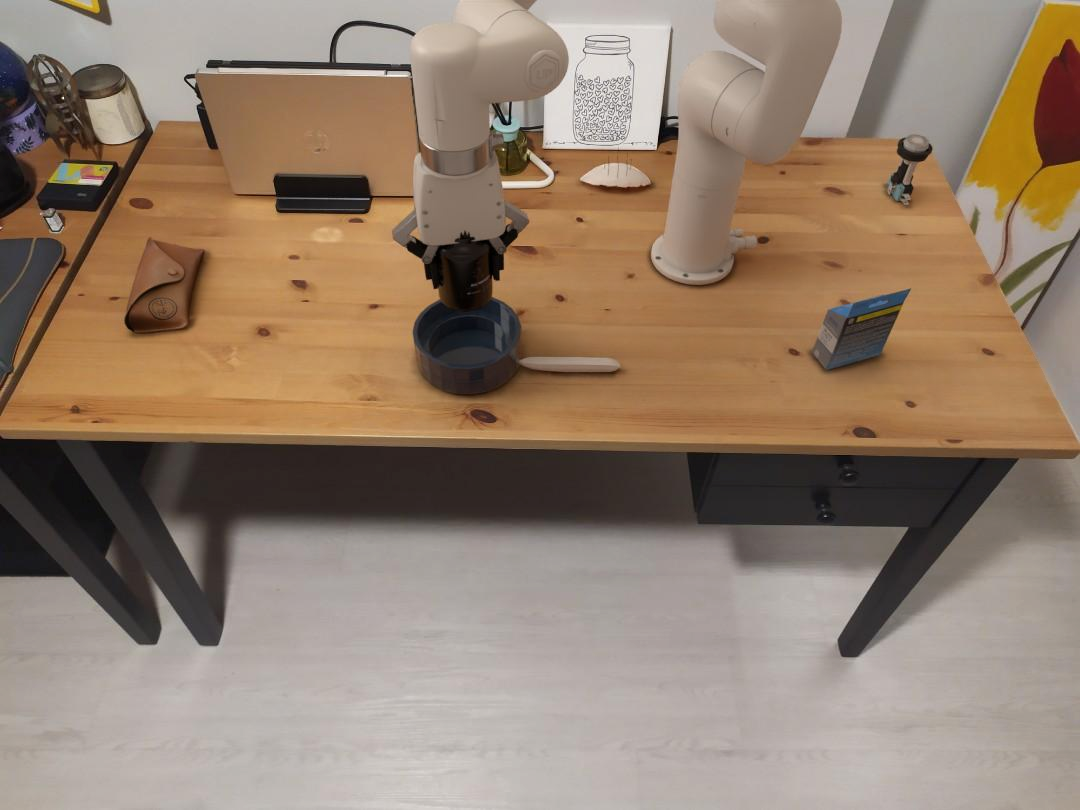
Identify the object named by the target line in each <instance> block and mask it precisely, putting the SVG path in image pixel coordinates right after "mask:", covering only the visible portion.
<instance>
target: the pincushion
mask: <svg viewBox="0 0 1080 810" xmlns="http://www.w3.org/2000/svg"><path fill="white" fill-rule="evenodd" d="M617 147H618V146H617ZM619 149H620V148H619V147H618V148H617V150H618V151H617V152H619ZM628 155H629V154H628V152H627V153H626V157H628ZM616 158H617V159H616V162H610V157H608V160H607V161H608V162H607V163H604V164H601V165H597V166H595V167H594V168H591V169H590V170H589V171H588V172H586V173H584V174H583V175H581V177H579V181H581V182H585V183H586V184H589V185H592V186H600V185H602V186H606V188H608V187H615V189H618V187H620V188H624V189H626V188H627V187H630V188H634V187H635V188H638V187H641V186H642V187H645V186H647V185H651V181H650V179H649V177H648V176H647V174H646V173H644V172H643V171H642V170H640V169H638V168H637V167H635V166H633V165H632V164H629V163H628V161H626V163H621V162H618V160H619V156H617V157H616ZM632 159H633V158H631V159H630V161H632Z"/></svg>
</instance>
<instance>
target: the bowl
mask: <svg viewBox="0 0 1080 810" xmlns="http://www.w3.org/2000/svg"><path fill="white" fill-rule="evenodd" d="M412 339H413V346H414V352H415V358H416V365H417V369H418V370H419V372H420V374H421V376H422V377H423V379H425V380H426V381H427V382H429V383H430V384H431V385H432V386H434V387H436V388H437V389H440V390H441V391H444V392H449V393H453V394H459V395H474V394H480V393H485V392H486V393H487V392H488V391H491V390H493V389H497V388H499V387H501V386H502V385H503V384H505V383H506V382H508V381H510V379H511V378H513V376H514V375H515V374H516V373H517V371H518V369H519V367H520V365H521V364H519V361H520V360H522V351H523V349H522V347H523V346H522V324H521V321H520V318H519V316H518V315H517V312H516V311H515V310H514V309H513V308H512V307H511V306H510V305H508V304H507V303H506V302H504V301H502V300H500V299H498V298H496V297H495V296H492V298H491V300H490V301H489V303H488V304H487V305H486V306H485V307H483V308H481V309H479V310H477V311H473V312H457V311H454V310H451V309H449V308H447V307H446V306H445V305H444V304H443V303H442V302H441V300H440V299H437V300H436V301H434V302H433V303H430V304H429V305H427V306H426V307H425V308H424V309H423V310H422V311H420V313H419V314H418V316H417V317H416V319H415V321H414V323H413V327H412Z"/></svg>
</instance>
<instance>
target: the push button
mask: <svg viewBox="0 0 1080 810" xmlns="http://www.w3.org/2000/svg"><path fill="white" fill-rule="evenodd" d="M933 150H934V149H933V145H932V144H931V143H930V140H929V139H928V138H927V137H926V136H923V135H922V134H916V133H913V134H909V135H907V136H906V137H905V136H904V137H902V138H900V139H899V140H898V142H897V149H896V154H897V156H899V157H900V161H899V164H898V166H897V169H896V170H895V171H894V172H891V173H890V176H889V178H888V181H887V183H886V187H887V191H886V192H887V193H888V195H892V197H893V198H894V200H895V201H896V202H902V204H903V205H905V206H907V205H909V204H910V203H909V202H908V201H911V200H912V198H911V197H910V196H911V195H912V194H913V191H914V189H915V188H914V185H913V184H912V181H913V179H914V173H915V170H916V168H917V166H918V164H919V163H922V162H925V161H926V160H927V158H928V157H929V155H931V154H932V152H933Z"/></svg>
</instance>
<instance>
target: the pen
mask: <svg viewBox="0 0 1080 810" xmlns="http://www.w3.org/2000/svg"><path fill="white" fill-rule="evenodd" d="M519 364H520V365H521V366H522V367H525V368H527V369H531V370H536V371H547V372H559V373H560V372H562V373H613V372H615V371H617V370H619V369H620V368H621V364H620V363H619V361H618V360H616V359H614V358H611V357H594V356H593V357H591V356H589V357H588V356H586V357H585V356H529V357H525V358H523V359H522V358H521V360H520V361H519Z"/></svg>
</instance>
